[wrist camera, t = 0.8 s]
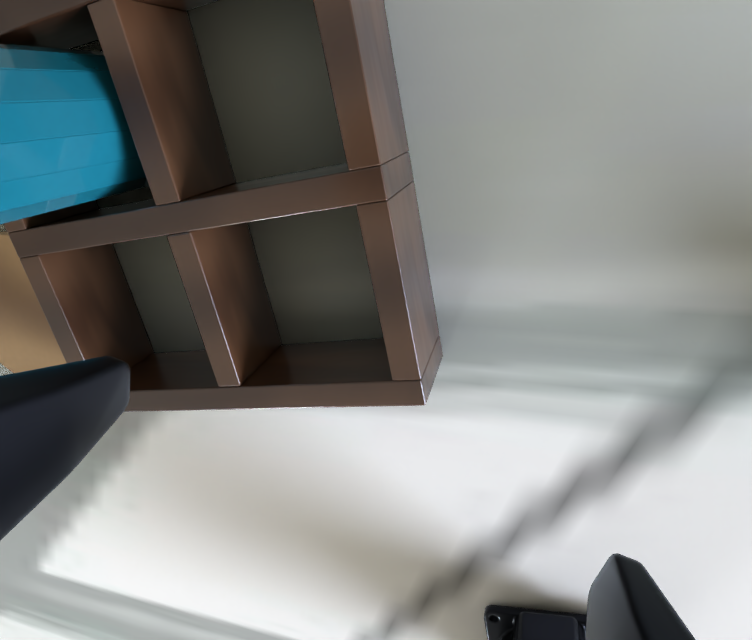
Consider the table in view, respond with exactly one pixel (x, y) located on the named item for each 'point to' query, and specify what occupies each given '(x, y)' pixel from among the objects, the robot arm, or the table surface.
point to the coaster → (22, 318)
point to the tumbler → (61, 132)
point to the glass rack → (231, 220)
